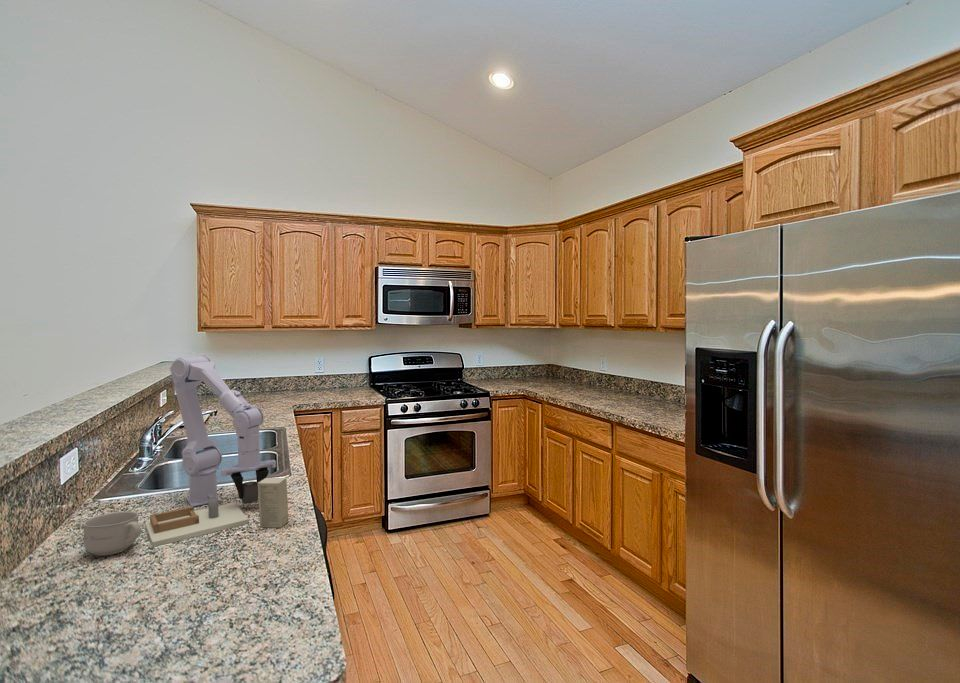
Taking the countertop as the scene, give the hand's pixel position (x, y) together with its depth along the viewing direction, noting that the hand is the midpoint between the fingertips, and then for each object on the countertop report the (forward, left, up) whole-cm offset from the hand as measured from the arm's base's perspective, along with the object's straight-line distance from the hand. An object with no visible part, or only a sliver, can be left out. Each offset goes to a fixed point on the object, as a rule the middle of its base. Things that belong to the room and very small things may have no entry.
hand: (249, 495), depth 148 cm
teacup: (+9, -32, -4) cm, 34 cm away
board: (+4, -14, -4) cm, 15 cm away
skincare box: (+17, +2, -4) cm, 18 cm away
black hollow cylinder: (0, 0, -2) cm, 2 cm away
